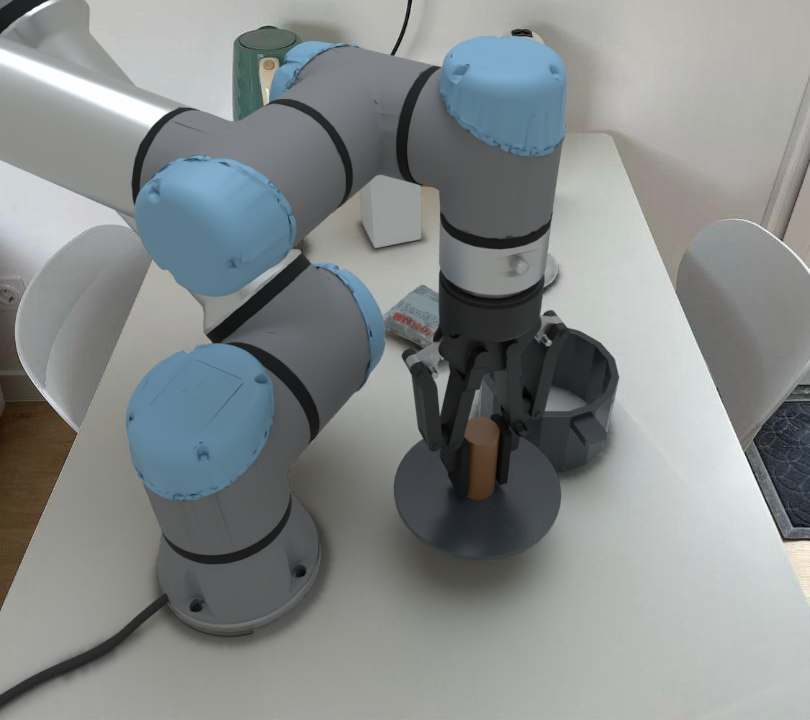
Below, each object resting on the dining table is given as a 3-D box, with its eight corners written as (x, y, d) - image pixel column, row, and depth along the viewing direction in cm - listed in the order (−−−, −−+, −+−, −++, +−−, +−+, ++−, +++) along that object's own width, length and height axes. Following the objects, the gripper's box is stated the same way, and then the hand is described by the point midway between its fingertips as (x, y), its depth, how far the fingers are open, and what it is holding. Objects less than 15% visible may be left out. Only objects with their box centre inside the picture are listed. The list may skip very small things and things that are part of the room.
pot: (525, 511, 82) (532, 452, 76) (449, 387, 95) (450, 328, 89) (644, 470, 85) (660, 411, 79) (554, 356, 99) (562, 298, 93)
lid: (431, 589, 68) (432, 527, 62) (371, 458, 78) (367, 395, 72) (591, 532, 71) (606, 469, 65) (513, 416, 82) (520, 352, 76)
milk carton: (361, 223, 121) (352, 103, 108) (406, 215, 123) (403, 94, 110) (374, 249, 116) (366, 126, 103) (421, 240, 118) (419, 117, 105)
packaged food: (442, 374, 97) (443, 343, 93) (369, 333, 103) (368, 302, 99) (486, 338, 102) (488, 307, 98) (414, 301, 107) (414, 270, 104)
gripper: (403, 329, 53) (408, 539, 69) (620, 272, 57) (577, 483, 73) (366, 266, 58) (378, 475, 74) (567, 218, 62) (538, 426, 78)
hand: (477, 479), depth 73 cm, fingers closed on lid, 3 cm apart
